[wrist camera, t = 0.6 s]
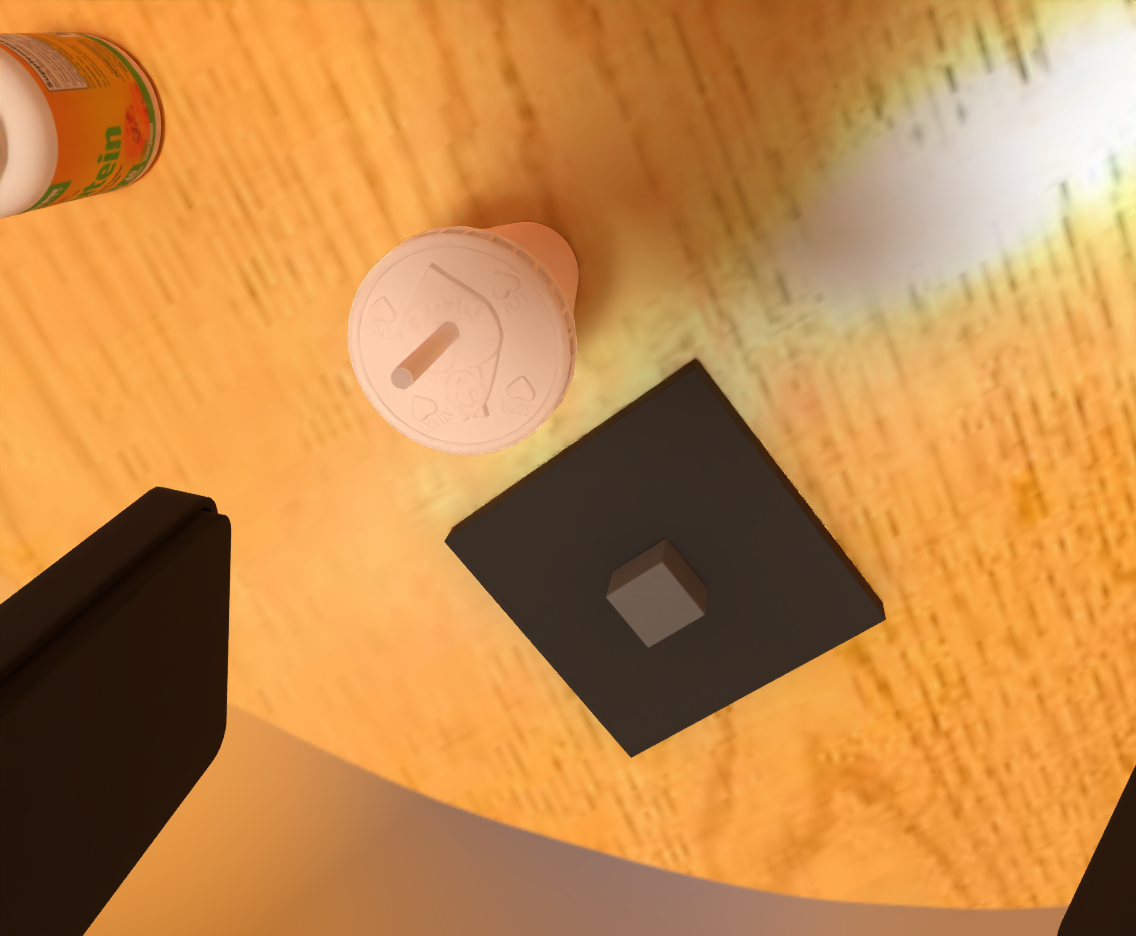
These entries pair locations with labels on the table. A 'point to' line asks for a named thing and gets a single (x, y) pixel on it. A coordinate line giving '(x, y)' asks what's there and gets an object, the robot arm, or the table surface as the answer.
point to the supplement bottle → (71, 119)
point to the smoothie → (467, 334)
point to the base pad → (713, 528)
